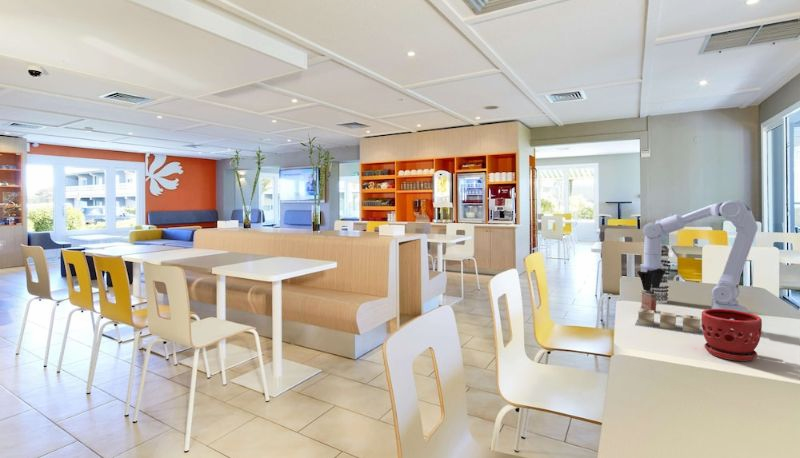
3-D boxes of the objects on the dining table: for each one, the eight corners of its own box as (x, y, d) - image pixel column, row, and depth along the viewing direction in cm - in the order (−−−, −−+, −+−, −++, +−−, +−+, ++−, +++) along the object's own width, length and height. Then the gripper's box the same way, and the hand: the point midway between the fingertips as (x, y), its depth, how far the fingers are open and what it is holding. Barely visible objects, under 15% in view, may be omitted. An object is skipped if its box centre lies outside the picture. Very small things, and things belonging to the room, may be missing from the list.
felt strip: (701, 329, 140) (701, 328, 140) (702, 336, 133) (702, 335, 132) (637, 320, 151) (637, 319, 151) (634, 326, 143) (634, 325, 143)
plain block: (675, 326, 142) (676, 313, 142) (675, 329, 138) (676, 316, 138) (660, 324, 145) (660, 311, 144) (659, 327, 141) (660, 314, 141)
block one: (698, 329, 138) (699, 316, 138) (699, 333, 135) (700, 319, 134) (682, 327, 141) (683, 314, 141) (682, 330, 137) (683, 317, 137)
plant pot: (701, 344, 125) (703, 305, 124) (758, 354, 116) (761, 313, 116) (698, 356, 115) (700, 314, 114) (760, 368, 106) (763, 323, 106)
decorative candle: (639, 299, 186) (641, 244, 185) (655, 297, 189) (657, 243, 188) (657, 303, 178) (660, 246, 176) (673, 302, 180) (676, 245, 179)
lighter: (658, 313, 161) (659, 288, 160) (649, 313, 161) (650, 288, 160) (646, 308, 169) (648, 284, 168) (638, 308, 169) (639, 284, 168)
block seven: (653, 323, 146) (654, 310, 146) (652, 326, 142) (653, 313, 142) (639, 321, 148) (639, 308, 148) (637, 324, 145) (638, 311, 144)
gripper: (649, 251, 165) (648, 285, 166) (632, 254, 156) (631, 289, 157) (669, 253, 159) (667, 288, 160) (652, 255, 151) (651, 292, 151)
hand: (651, 289), depth 158 cm, fingers open, 7 cm apart
